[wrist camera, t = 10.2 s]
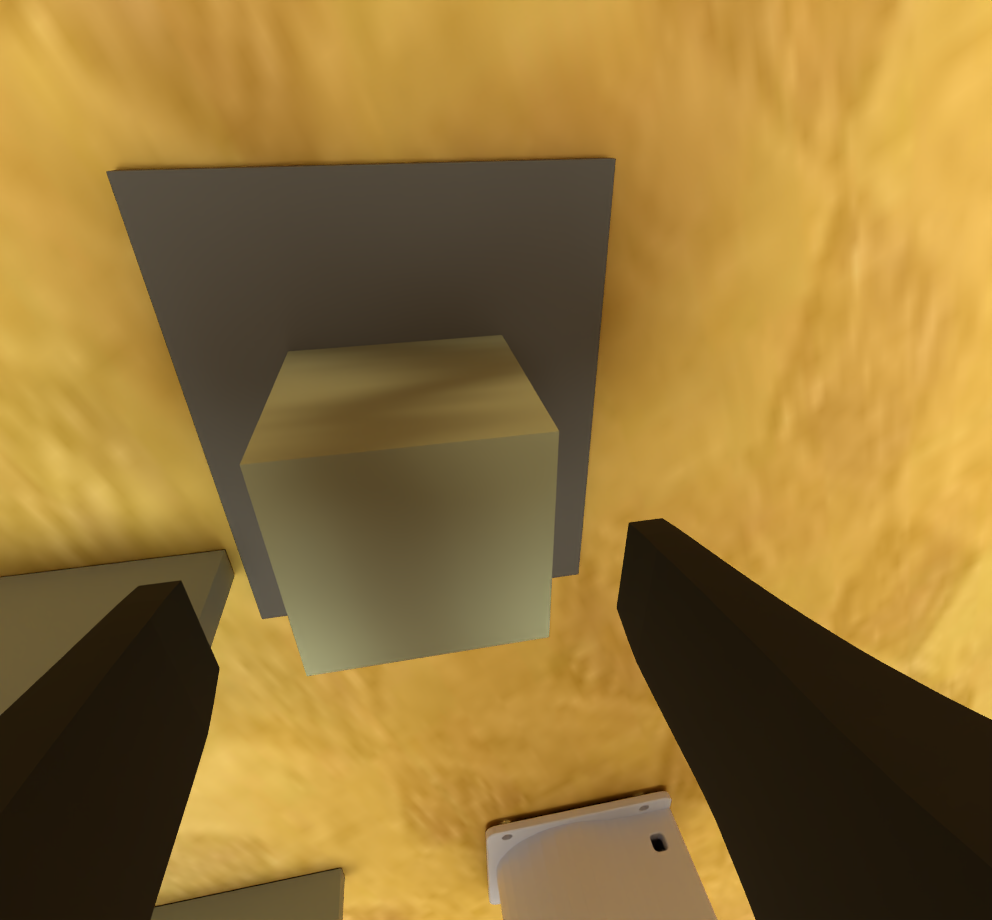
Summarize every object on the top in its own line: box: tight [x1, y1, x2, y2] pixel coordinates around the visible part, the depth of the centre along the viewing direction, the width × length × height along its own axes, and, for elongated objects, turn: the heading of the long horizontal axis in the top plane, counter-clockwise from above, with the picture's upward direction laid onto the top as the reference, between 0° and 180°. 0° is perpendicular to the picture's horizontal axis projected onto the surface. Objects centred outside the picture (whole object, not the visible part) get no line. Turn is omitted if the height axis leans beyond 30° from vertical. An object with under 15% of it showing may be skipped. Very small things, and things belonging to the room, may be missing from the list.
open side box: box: [0, 550, 345, 920], centre depth 18 cm, size 12×21×4 cm, turn 0°
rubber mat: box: [106, 158, 616, 619], centre depth 14 cm, size 10×12×1 cm
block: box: [240, 335, 559, 676], centre depth 12 cm, size 5×5×5 cm
